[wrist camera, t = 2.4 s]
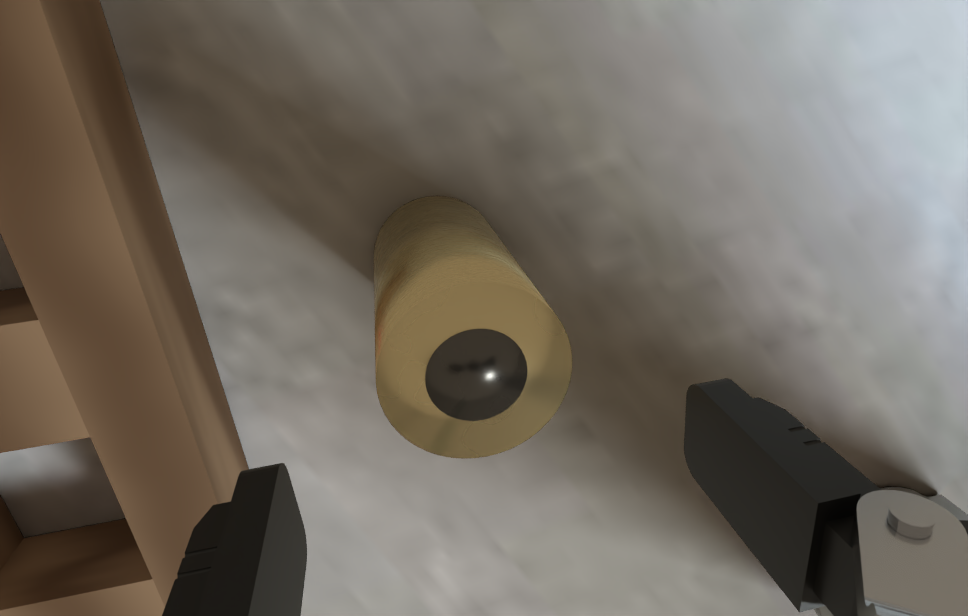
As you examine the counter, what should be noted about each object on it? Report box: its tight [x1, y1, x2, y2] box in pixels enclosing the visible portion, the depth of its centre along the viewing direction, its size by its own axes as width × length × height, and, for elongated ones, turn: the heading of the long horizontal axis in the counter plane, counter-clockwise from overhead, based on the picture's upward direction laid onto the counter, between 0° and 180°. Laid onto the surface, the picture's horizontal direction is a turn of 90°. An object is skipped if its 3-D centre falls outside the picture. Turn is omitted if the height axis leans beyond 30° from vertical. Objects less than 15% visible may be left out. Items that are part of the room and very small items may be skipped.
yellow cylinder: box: [374, 196, 572, 458], centre depth 19 cm, size 5×5×10 cm
